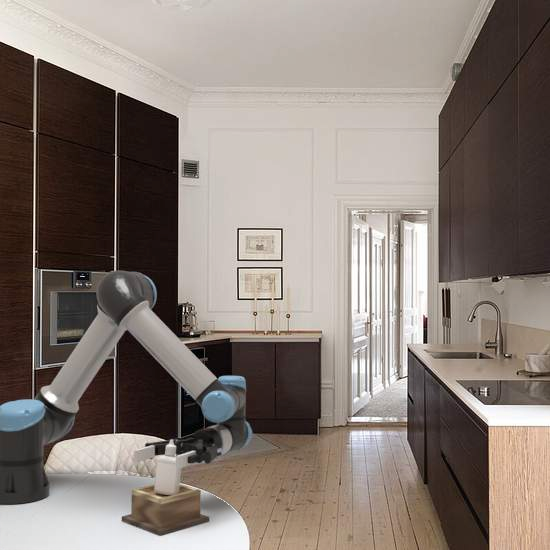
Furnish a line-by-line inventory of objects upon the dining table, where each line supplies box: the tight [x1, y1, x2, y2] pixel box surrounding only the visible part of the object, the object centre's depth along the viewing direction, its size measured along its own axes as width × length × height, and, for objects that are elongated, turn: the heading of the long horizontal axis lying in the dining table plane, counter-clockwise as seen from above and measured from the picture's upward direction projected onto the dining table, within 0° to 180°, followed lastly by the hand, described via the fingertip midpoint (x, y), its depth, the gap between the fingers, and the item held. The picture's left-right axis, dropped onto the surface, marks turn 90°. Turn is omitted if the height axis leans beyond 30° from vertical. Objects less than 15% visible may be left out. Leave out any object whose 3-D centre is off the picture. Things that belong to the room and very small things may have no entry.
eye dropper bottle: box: [154, 439, 182, 496], centre depth 158 cm, size 4×6×12 cm
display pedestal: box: [121, 483, 210, 537], centre depth 157 cm, size 14×14×7 cm
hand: (155, 459), depth 154 cm, fingers open, 11 cm apart
